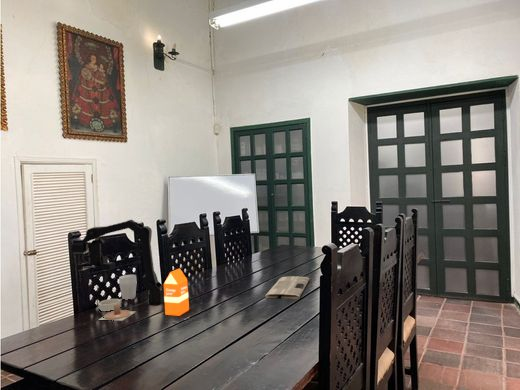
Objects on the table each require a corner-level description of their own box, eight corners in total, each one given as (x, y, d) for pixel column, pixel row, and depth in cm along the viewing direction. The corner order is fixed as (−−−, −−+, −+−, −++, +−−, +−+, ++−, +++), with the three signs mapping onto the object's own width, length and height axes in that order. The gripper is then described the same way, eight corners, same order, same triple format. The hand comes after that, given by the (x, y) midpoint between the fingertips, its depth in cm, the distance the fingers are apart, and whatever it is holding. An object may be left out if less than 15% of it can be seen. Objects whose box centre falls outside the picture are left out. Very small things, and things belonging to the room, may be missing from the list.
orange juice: (165, 314, 182) (162, 272, 181) (175, 308, 190) (173, 267, 190) (179, 315, 179) (177, 272, 179) (189, 309, 188) (187, 268, 187)
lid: (134, 311, 188) (134, 301, 188) (122, 320, 176) (121, 309, 176) (112, 311, 190) (112, 301, 190) (98, 319, 178) (98, 309, 178)
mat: (135, 312, 188) (135, 311, 188) (122, 321, 176) (122, 320, 176) (112, 311, 190) (112, 311, 190) (98, 320, 178) (98, 319, 178)
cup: (132, 301, 207) (130, 278, 207) (116, 300, 209) (115, 278, 209) (140, 296, 216) (139, 274, 216) (125, 295, 218) (124, 274, 217)
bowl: (124, 305, 199) (123, 298, 199) (113, 312, 190) (112, 305, 189) (106, 305, 201) (106, 298, 201) (94, 311, 192) (94, 304, 191)
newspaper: (299, 299, 196) (299, 294, 196) (262, 298, 201) (261, 293, 201) (309, 281, 231) (309, 276, 231) (277, 280, 237) (277, 276, 236)
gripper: (120, 249, 203) (121, 279, 204) (88, 249, 207) (89, 279, 207) (108, 253, 193) (109, 284, 193) (74, 253, 196) (76, 284, 196)
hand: (96, 283), depth 198 cm, fingers open, 9 cm apart
